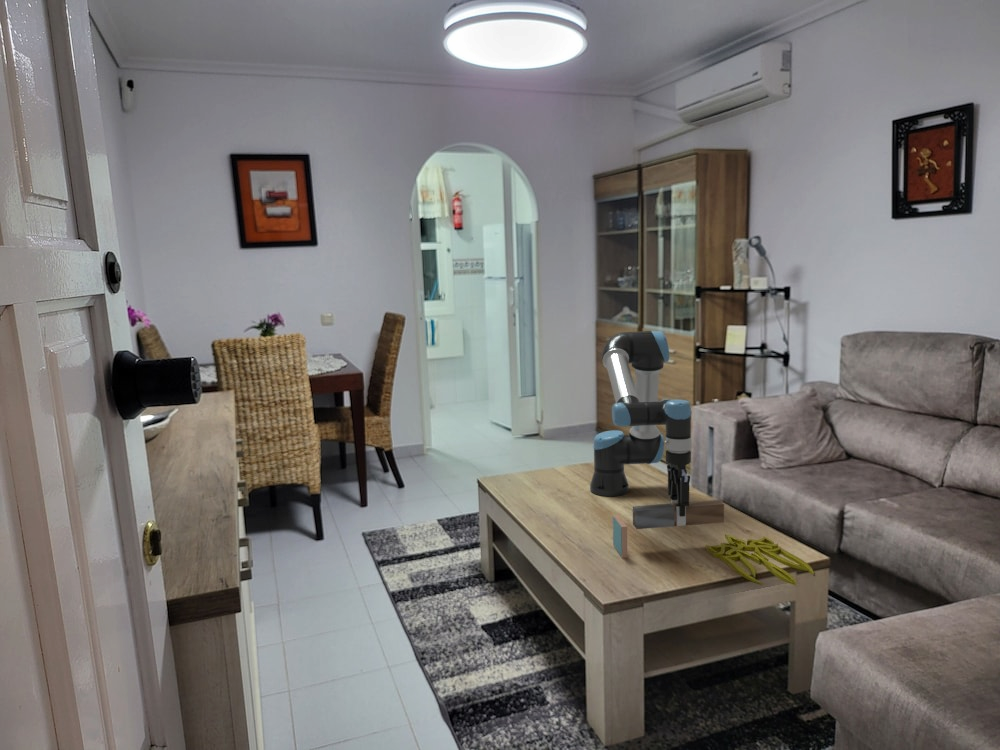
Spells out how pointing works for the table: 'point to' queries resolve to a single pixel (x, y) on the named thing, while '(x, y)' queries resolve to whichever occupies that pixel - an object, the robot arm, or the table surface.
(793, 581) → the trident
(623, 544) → the tile
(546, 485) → the table surface
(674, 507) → the brown and grey bar
